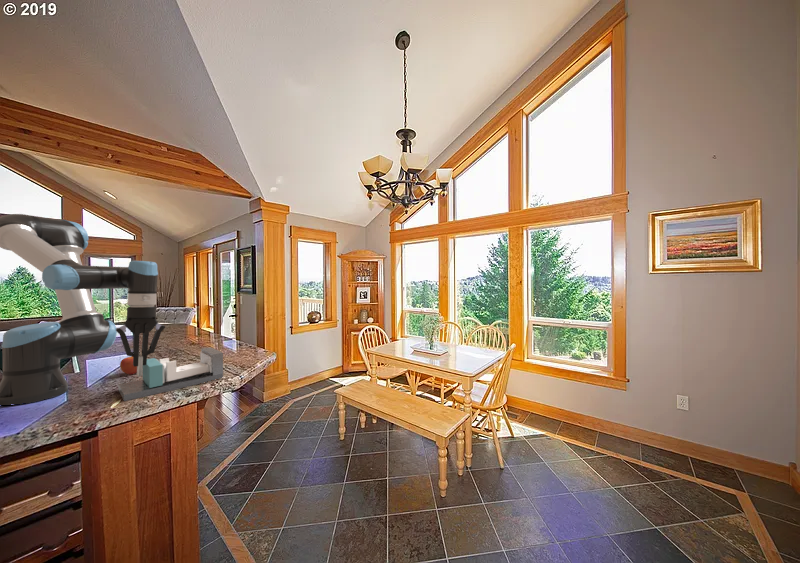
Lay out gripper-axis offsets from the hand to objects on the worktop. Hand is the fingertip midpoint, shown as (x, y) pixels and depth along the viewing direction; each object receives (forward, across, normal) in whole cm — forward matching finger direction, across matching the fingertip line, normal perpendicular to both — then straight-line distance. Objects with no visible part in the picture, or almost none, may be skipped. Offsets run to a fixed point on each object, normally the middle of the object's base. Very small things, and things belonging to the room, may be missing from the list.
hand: (139, 375), depth 100 cm
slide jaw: (+3, +4, 0) cm, 5 cm away
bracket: (+3, +13, -1) cm, 13 cm away
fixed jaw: (+3, +22, 0) cm, 22 cm away
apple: (+6, +2, +27) cm, 28 cm away
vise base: (+5, +10, 0) cm, 11 cm away
